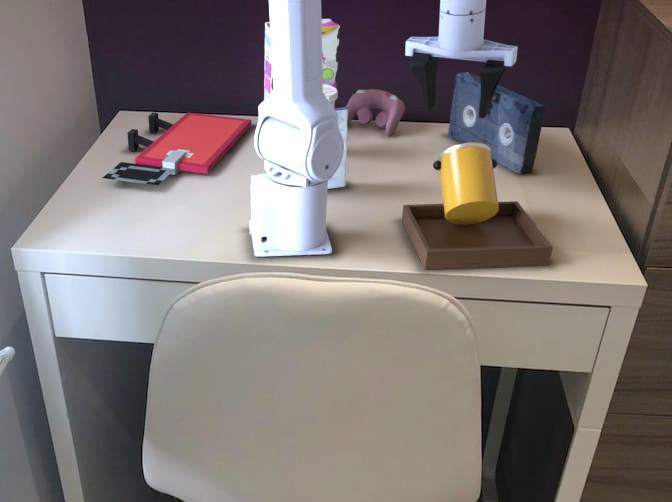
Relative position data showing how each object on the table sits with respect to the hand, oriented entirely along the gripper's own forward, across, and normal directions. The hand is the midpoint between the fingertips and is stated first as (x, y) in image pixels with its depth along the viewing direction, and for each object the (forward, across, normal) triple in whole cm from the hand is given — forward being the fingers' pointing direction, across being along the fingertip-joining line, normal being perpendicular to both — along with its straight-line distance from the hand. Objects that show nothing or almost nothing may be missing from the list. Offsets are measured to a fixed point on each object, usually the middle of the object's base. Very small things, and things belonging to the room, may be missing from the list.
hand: (456, 111), depth 115 cm
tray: (+9, -9, +18) cm, 22 cm away
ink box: (+8, +17, +14) cm, 23 cm away
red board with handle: (+8, +40, +11) cm, 43 cm away
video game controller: (+11, +19, -15) cm, 27 cm away
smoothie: (+9, +22, +1) cm, 24 cm away
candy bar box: (+10, +30, -9) cm, 33 cm away
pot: (+3, -6, +14) cm, 15 cm away
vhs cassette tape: (+12, -1, -13) cm, 17 cm away
